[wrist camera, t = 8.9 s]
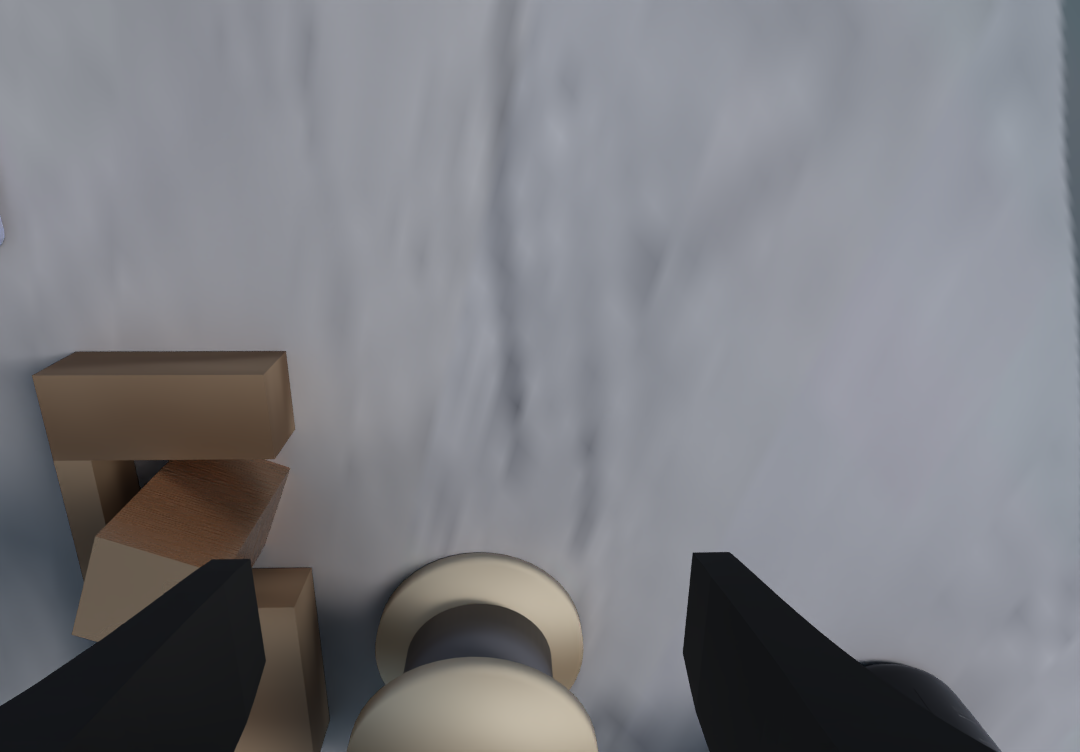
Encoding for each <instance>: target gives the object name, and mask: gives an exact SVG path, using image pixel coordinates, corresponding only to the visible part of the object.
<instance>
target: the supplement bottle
mask: <svg viewBox="0 0 1080 752" xmlns="http://www.w3.org/2000/svg"><path fill="white" fill-rule="evenodd" d="M864 667H866V668H867V669H868V670H869V671H871V672H872V673H873V674H875V675H876V676H878V677H879V678H880V679H882V680H883V681H885V682H886V683H887V684H889V685H890V686H892V687H893V688H895V689H896V690H898V691H899V692H901V693H902V694H904V695H905V696H907V697H908V698H910V699H911V700H913V701H914V702H916V703H917V704H919V705H920V706H922V707H923V708H925V709H926V710H928V711H929V712H931V713H932V714H934V715H935V716H937V717H939V718H940V719H942V720H943V721H945V722H947V723H948V724H950V725H952V726H953V727H955V728H957V729H958V730H960V731H962V732H963V733H965V734H967V735H968V736H970V737H972V738H974V739H975V740H977V741H979V742H981V743H982V744H984V745H986V746H988V747H990V748H991V749H993V750H995V751H997V752H1001V750H1000V749H999V748H998V746H997V745H996V744H995V743H994V741H993V740H992V739H991V738H990V736H989V735H988V734H987V733H986V731H985V730H984V729H983V728H982V726H981V725H980V724H979V722H978V721H977V720H976V719H975V717H974V716H973V715H972V714H971V712H970V711H969V710H968V709H967V708H966V707H965V705H964V704H963V703H962V702H961V700H960V699H959V698H958V697H957V695H956V694H955V693H954V692H953V691H952V690H951V689H950V688H949V687H948V686H947V685H946V684H945V683H943V682H942V681H941V680H939V679H938V678H936V677H935V676H933V675H931V674H929V673H927V672H925V671H923V670H920V669H917V668H914V667H910V666H905V665H899V664H874V665H867V666H864Z"/></svg>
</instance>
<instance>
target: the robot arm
mask: <svg viewBox="0 0 1080 752" xmlns="http://www.w3.org/2000/svg"><path fill="white" fill-rule="evenodd" d="M3 240H4V228H3V224H2V220H1V216H0V245H1V244H2V242H3ZM683 656H684V660H685V665H686V670H687V675H688V679H689V684H690V688H691V693H692V697H693V701H694V705H695V710H696V713H697V716H698V719H699V722H700V725H701V728H702V731H703V734H704V737H705V739H706V742H707V745H708V748H709V751H710V752H997V751H995V750H993V749H991V748H990V747H988V746H986V745H984V744H982V743H981V742H979V741H977V740H975V739H974V738H972V737H970V736H968V735H967V734H965V733H963V732H962V731H960V730H958V729H957V728H955V727H953V726H952V725H950V724H948V723H947V722H945V721H943V720H942V719H940V718H939V717H937V716H935V715H934V714H932V713H931V712H929V711H928V710H926V709H925V708H923V707H922V706H920V705H919V704H917V703H916V702H914V701H913V700H911V699H910V698H908V697H907V696H905V695H904V694H902V693H901V692H899V691H898V690H896V689H895V688H893V687H892V686H890V685H889V684H887V683H886V682H885V681H883V680H882V679H880V678H879V677H878V676H876V675H875V674H873V673H872V672H871V671H869V670H868V669H867V668H866V667H864V666H863V665H862V664H860V663H859V662H858V661H856V660H855V659H854V658H852V657H851V656H850V655H848V654H847V653H846V652H845V651H843V650H842V649H841V648H839V647H838V646H837V645H836V644H834V643H833V642H832V641H831V640H829V639H828V638H827V637H826V636H824V635H823V634H822V633H821V632H820V631H818V630H817V629H816V628H815V627H814V626H812V625H811V624H810V623H809V622H808V621H806V620H805V619H804V618H803V617H802V616H801V615H799V614H798V613H797V612H796V611H795V610H794V609H793V608H791V607H790V606H789V605H788V604H787V603H786V602H785V601H783V600H782V599H781V598H780V597H779V596H778V595H777V594H776V593H775V592H773V591H772V590H771V589H770V588H769V587H768V586H767V585H766V584H765V583H763V582H762V581H761V580H760V579H759V578H758V577H757V576H756V575H755V574H754V573H752V572H751V571H750V570H749V569H748V568H747V567H746V566H745V565H744V564H743V563H741V562H740V561H739V560H738V559H737V558H736V557H734V556H733V555H732V554H731V553H730V552H707V553H693V556H692V566H691V576H690V586H689V596H688V606H687V616H686V626H685V637H684V647H683ZM265 663H266V658H265V651H264V645H263V638H262V632H261V625H260V618H259V612H258V605H257V599H256V592H255V586H254V579H253V573H252V566H251V560H250V559H212V560H210V561H209V562H207V563H206V564H204V565H203V566H201V567H200V568H198V569H197V570H195V571H194V572H193V573H191V574H190V575H189V576H187V577H186V578H184V579H183V580H182V581H180V582H179V583H178V584H176V585H175V586H174V587H172V588H171V589H170V590H168V591H167V592H166V593H164V594H163V595H162V596H160V597H159V598H157V599H156V600H155V601H153V602H152V603H151V604H149V605H148V606H147V607H145V608H144V609H143V610H141V611H140V612H139V613H137V614H136V615H134V616H133V617H132V618H130V619H129V620H128V621H126V622H125V623H123V624H122V625H121V626H119V627H118V628H117V629H115V630H114V631H113V632H111V633H110V634H108V635H107V636H106V637H104V638H103V639H101V640H100V641H99V642H97V643H96V644H94V645H93V646H91V647H90V648H88V649H87V650H85V651H84V652H82V653H81V654H79V655H78V656H76V657H75V658H74V659H72V660H71V661H69V662H68V663H66V664H65V665H63V666H62V667H60V668H59V669H57V670H56V671H54V672H53V673H51V674H50V675H48V676H47V677H46V678H44V679H43V680H41V681H40V682H38V683H37V684H35V685H33V686H32V687H30V688H29V689H27V690H26V691H24V692H22V693H21V694H19V695H18V696H16V697H14V698H13V699H11V700H10V701H8V702H6V703H5V704H3V705H1V706H0V752H234V751H235V748H236V746H237V744H238V742H239V740H240V737H241V735H242V733H243V730H244V728H245V726H246V723H247V721H248V718H249V715H250V712H251V709H252V706H253V703H254V699H255V696H256V693H257V690H258V686H259V683H260V680H261V676H262V673H263V669H264V666H265Z"/></svg>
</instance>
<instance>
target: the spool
mask: <svg viewBox="0 0 1080 752" xmlns="http://www.w3.org/2000/svg"><path fill="white" fill-rule="evenodd" d="M375 656H376V661H377V667H378V670H379V672H380V675H381V678H382V680H383V681H384V683H385V686H383V687H382V688H381V689H380V690H379V691H378V692H377V693H376V694H375V695H374V696H373V697H372V698H371V699H370V700H369V701H368V702H367V704H366V705H365V706H364V708H363V709H362V710H361V712H360V714H359V716H358V718H357V720H356V721H355V724H354V727H353V730H352V733H351V736H350V740H349V744H348V748H347V752H598V747H597V740H596V735H595V731H594V727H593V725H592V722H591V719H590V717H589V715H588V714H587V712H586V710H585V709H584V707H583V705H582V704H581V703H580V702H579V700H578V699H577V698H576V697H575V696H574V694H572V693H571V692H570V691H569V690H570V688H571V687H572V685H573V684H574V682H575V680H576V678H577V675H578V673H579V670H580V667H581V663H582V657H583V638H582V631H581V624H580V619H579V615H578V612H577V610H576V607H575V605H574V603H573V601H572V599H571V598H570V596H569V594H568V593H567V592H566V591H565V589H564V588H563V587H562V586H561V585H560V584H559V583H558V582H557V581H556V580H555V579H554V578H553V577H552V576H550V575H549V574H548V573H546V572H545V571H544V570H542V569H540V568H538V567H537V566H535V565H533V564H531V563H528V562H526V561H523V560H521V559H518V558H514V557H511V556H507V555H501V554H495V553H465V554H460V555H454V556H450V557H446V558H443V559H440V560H437V561H435V562H433V563H430V564H428V565H426V566H424V567H422V568H421V569H419V570H417V571H416V572H414V573H413V574H412V575H410V576H409V577H408V578H407V579H405V580H404V581H403V582H402V583H401V584H400V585H399V586H398V587H397V589H396V590H395V591H394V593H393V594H392V595H391V597H390V598H389V600H388V602H387V604H386V606H385V608H384V611H383V614H382V617H381V620H380V624H379V628H378V631H377V637H376V643H375Z"/></svg>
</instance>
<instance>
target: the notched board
mask: <svg viewBox="0 0 1080 752" xmlns="http://www.w3.org/2000/svg"><path fill="white" fill-rule="evenodd" d="M32 377H33V381H34V385H35V389H36V393H37V397H38V401H39V405H40V409H41V413H42V417H43V421H44V425H45V429H46V433H47V437H48V441H49V445H50V449H51V453H52V457H53V461H54V465H55V469H56V473H57V477H58V481H59V485H60V489H61V493H62V496H63V500H64V504H65V508H66V512H67V516H68V520H69V524H70V528H71V532H72V536H73V540H74V544H75V548H76V552H77V556H78V560H79V564H80V568H81V572H82V576H83V580H84V581H85V577H86V573H87V569H88V564H89V560H90V556H91V552H92V548H93V543H94V539H95V536H96V535H97V534H98V533H99V532H100V531H101V530H102V529H103V528H104V527H105V526H106V525H107V524H108V523H109V522H110V521H111V520H112V519H113V518H114V517H115V516H116V515H117V514H118V513H119V512H120V511H121V510H122V509H123V508H124V507H125V505H126V504H127V503H128V502H129V501H130V500H131V499H132V498H133V497H134V496H135V495H136V494H137V493H138V492H139V491H140V488H139V483H138V479H137V474H136V469H135V464H134V460H219V459H275V458H276V456H277V455H278V453H279V452H280V451H281V449H282V448H283V446H284V445H285V443H286V442H287V440H288V439H289V437H290V436H291V434H292V433H293V432H294V430H295V424H294V416H293V408H292V399H291V391H290V382H289V374H288V366H287V357H286V351H190V352H74V353H73V354H71V355H69V356H67V357H65V358H63V359H62V360H60V361H58V362H56V363H54V364H52V365H51V366H49V367H47V368H45V369H43V370H41V371H40V372H38V373H36V374H34V375H32ZM252 573H253V579H254V586H255V592H256V599H257V605H258V612H259V618H260V625H261V632H262V638H263V645H264V651H265V658H266V663H265V666H264V669H263V673H262V676H261V680H260V683H259V686H258V690H257V693H256V696H255V699H254V703H253V706H252V709H251V712H250V715H249V718H248V721H247V723H246V726H245V728H244V730H243V733H242V735H241V737H240V740H239V742H238V744H237V746H236V748H235V751H234V752H320V751H321V748H322V744H323V741H324V738H325V734H326V731H327V728H328V724H329V721H330V718H329V710H328V702H327V693H326V685H325V676H324V668H323V660H322V651H321V643H320V634H319V626H318V618H317V609H316V601H315V592H314V584H313V576H312V568H263V569H252Z"/></svg>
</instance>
